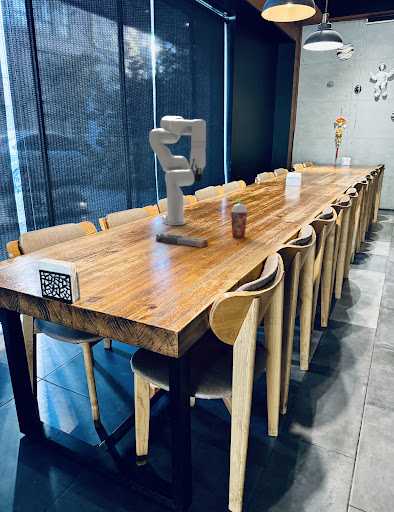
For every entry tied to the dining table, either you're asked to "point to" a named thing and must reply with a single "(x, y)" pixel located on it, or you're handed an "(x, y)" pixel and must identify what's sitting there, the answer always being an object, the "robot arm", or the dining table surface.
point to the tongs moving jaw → (159, 237)
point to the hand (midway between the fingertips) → (198, 181)
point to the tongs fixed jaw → (183, 241)
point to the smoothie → (238, 220)
